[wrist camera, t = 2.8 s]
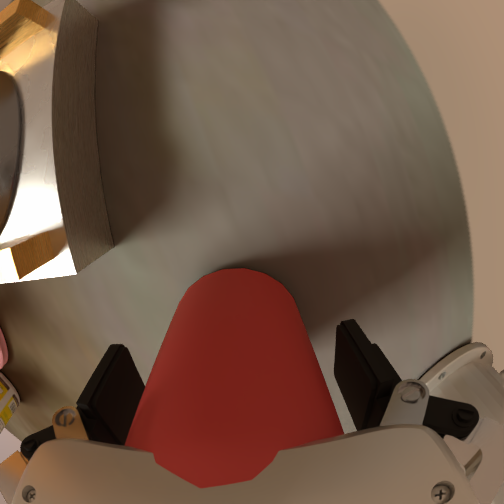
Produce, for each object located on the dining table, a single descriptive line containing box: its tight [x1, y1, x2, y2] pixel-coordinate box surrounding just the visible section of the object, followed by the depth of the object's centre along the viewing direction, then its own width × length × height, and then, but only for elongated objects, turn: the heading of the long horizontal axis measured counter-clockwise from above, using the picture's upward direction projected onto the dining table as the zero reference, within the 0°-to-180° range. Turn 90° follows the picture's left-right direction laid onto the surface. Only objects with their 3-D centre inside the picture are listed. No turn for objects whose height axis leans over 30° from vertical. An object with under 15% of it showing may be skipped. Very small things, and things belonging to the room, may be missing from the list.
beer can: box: [124, 268, 344, 489], centre depth 9 cm, size 7×7×12 cm
